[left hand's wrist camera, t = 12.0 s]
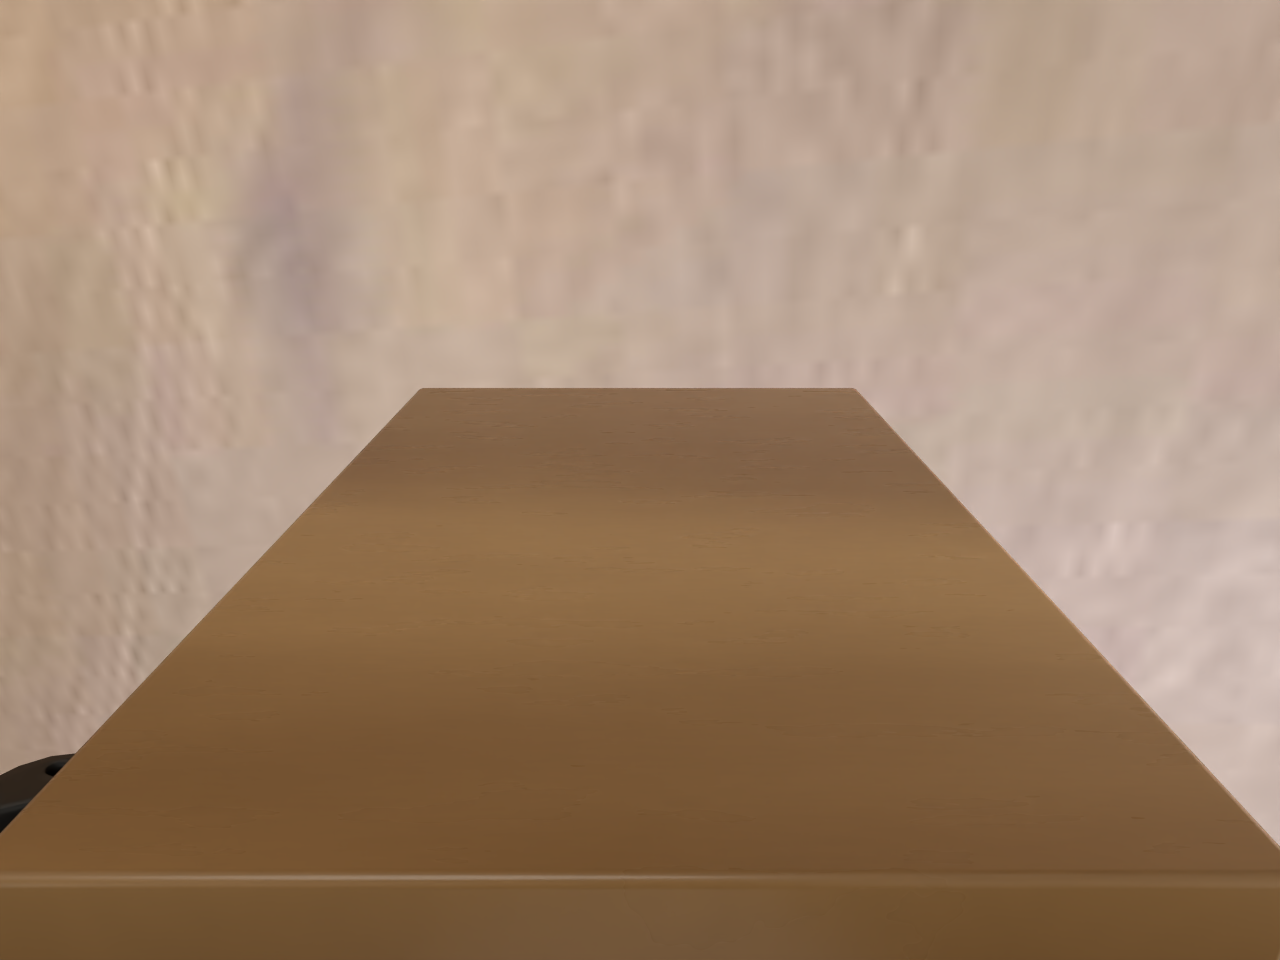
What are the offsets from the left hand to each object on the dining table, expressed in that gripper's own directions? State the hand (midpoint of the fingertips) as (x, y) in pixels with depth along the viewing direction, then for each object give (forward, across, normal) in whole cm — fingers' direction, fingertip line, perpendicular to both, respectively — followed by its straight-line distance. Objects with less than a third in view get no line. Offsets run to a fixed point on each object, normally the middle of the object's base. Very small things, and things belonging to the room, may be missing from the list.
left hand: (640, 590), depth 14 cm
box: (+1, 0, -10) cm, 10 cm away
